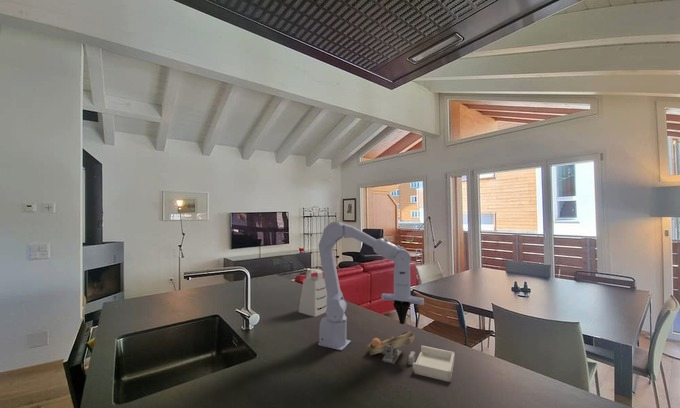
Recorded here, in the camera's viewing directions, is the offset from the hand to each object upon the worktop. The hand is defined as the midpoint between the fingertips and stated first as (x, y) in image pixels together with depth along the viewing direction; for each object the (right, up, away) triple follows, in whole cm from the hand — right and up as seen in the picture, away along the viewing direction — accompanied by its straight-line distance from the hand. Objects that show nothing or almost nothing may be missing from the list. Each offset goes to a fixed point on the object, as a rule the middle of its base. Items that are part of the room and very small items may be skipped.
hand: (402, 323), depth 100 cm
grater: (-34, -11, +39) cm, 53 cm away
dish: (+8, -9, -12) cm, 16 cm away
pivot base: (-2, -9, -7) cm, 11 cm away
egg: (-9, -6, -3) cm, 11 cm away
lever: (-3, -5, -3) cm, 7 cm away
